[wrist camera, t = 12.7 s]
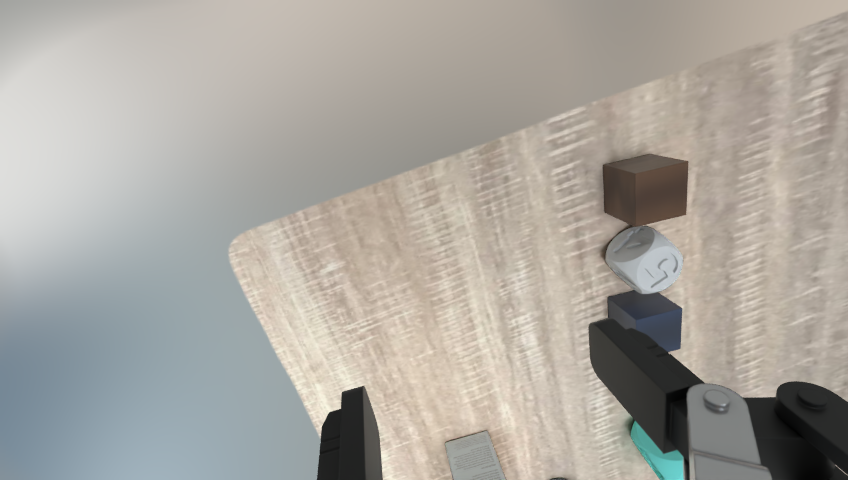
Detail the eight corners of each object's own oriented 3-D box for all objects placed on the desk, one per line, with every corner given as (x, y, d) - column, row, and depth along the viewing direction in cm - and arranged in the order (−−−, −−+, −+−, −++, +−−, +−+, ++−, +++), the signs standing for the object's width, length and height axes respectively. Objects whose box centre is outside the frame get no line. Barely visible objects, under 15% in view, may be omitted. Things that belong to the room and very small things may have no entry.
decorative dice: (642, 457, 54) (687, 514, 47) (621, 421, 52) (665, 476, 44) (694, 426, 54) (748, 479, 46) (675, 388, 51) (729, 438, 44)
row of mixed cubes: (602, 164, 40) (635, 173, 35) (650, 153, 40) (688, 161, 35) (610, 385, 49) (636, 415, 45) (648, 375, 50) (678, 404, 45)
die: (596, 252, 43) (625, 271, 38) (633, 219, 42) (667, 234, 37) (621, 280, 44) (652, 302, 40) (657, 249, 44) (692, 268, 39)
